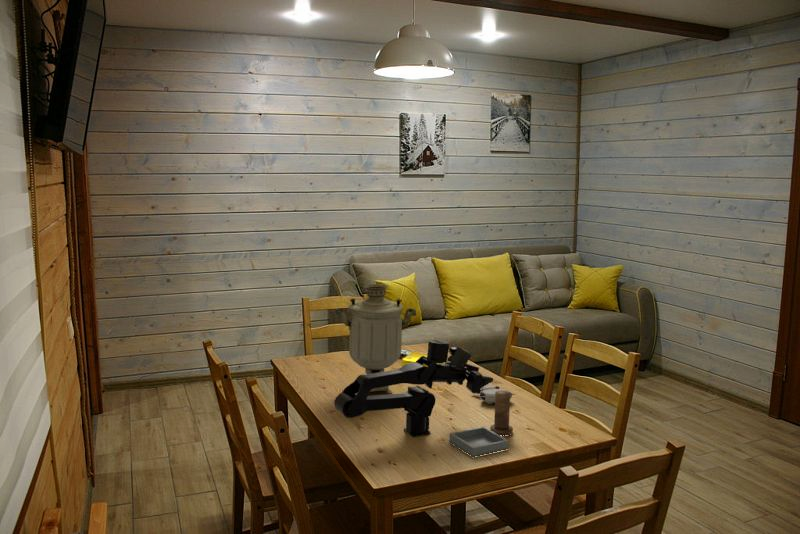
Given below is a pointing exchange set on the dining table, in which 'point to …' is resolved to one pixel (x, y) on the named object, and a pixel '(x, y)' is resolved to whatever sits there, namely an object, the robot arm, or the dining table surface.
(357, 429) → the dining table surface
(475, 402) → the dining table surface
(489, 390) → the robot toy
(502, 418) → the handle
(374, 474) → the dining table surface
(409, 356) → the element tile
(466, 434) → the box
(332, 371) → the dining table surface
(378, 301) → the samovar
